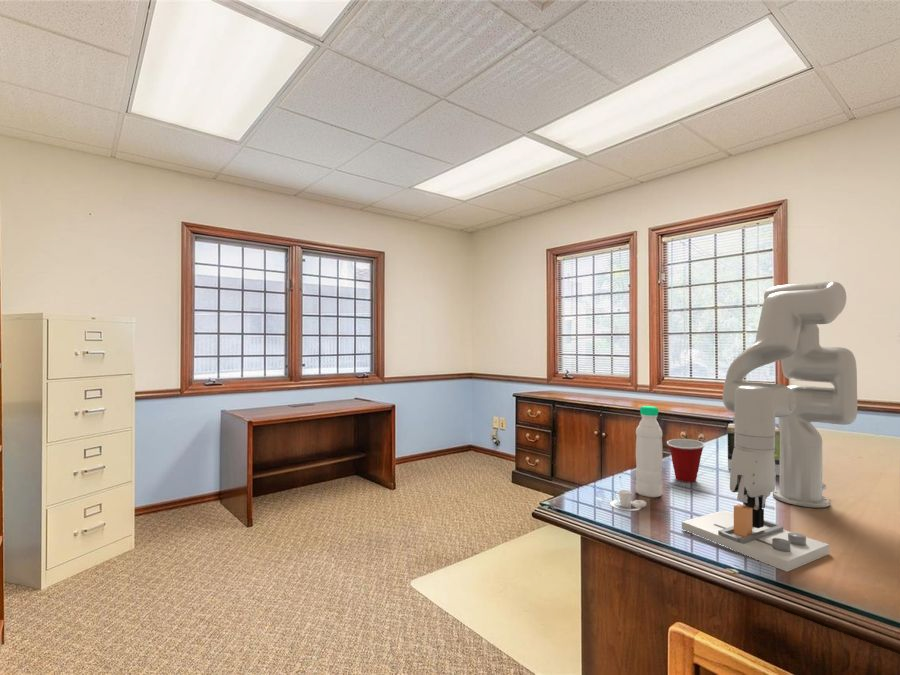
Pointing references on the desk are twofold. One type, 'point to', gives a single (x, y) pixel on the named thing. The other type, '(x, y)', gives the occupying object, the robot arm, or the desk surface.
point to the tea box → (731, 447)
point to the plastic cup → (685, 458)
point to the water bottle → (649, 454)
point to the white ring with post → (627, 501)
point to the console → (759, 541)
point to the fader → (742, 520)
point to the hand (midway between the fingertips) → (754, 525)
